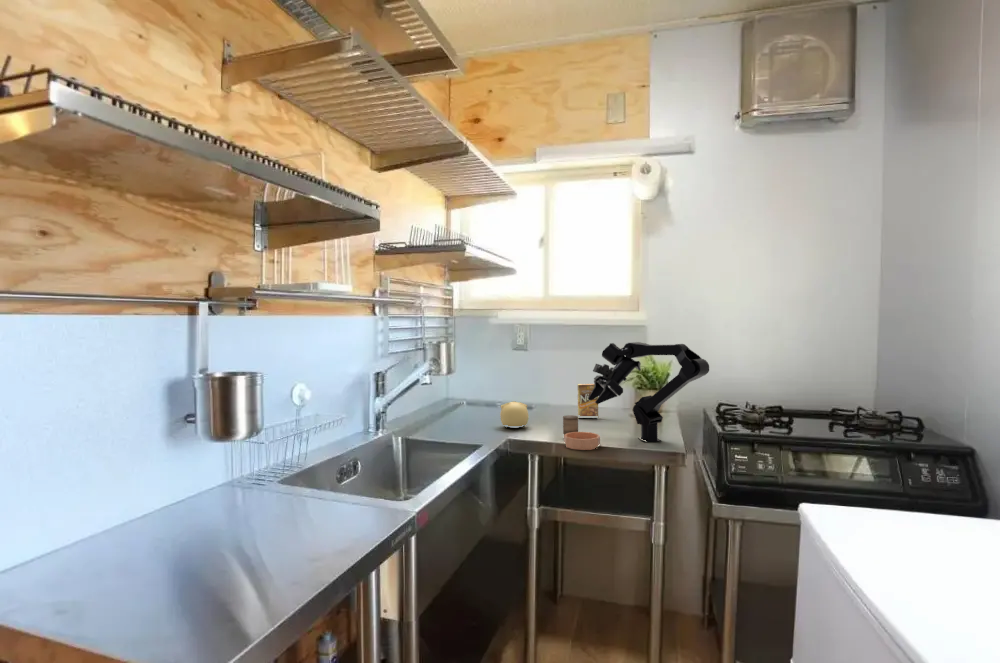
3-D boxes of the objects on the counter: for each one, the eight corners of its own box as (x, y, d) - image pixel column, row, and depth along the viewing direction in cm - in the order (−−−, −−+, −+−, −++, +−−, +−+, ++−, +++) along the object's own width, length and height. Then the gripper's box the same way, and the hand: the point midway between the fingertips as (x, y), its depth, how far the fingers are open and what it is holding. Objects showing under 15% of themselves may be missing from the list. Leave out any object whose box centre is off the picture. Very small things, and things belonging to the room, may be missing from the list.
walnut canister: (579, 439, 190) (579, 417, 190) (565, 440, 189) (565, 418, 189) (576, 436, 195) (575, 415, 195) (561, 436, 195) (561, 415, 195)
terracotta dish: (603, 449, 175) (603, 438, 175) (569, 450, 174) (569, 440, 174) (593, 441, 187) (593, 431, 187) (561, 442, 186) (561, 432, 186)
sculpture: (526, 424, 219) (526, 399, 219) (530, 430, 207) (530, 403, 207) (499, 425, 218) (499, 399, 218) (501, 431, 206) (501, 404, 206)
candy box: (578, 419, 229) (578, 384, 229) (577, 417, 233) (577, 383, 233) (598, 419, 229) (598, 384, 228) (597, 417, 233) (597, 383, 232)
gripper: (598, 354, 203) (571, 383, 202) (614, 357, 184) (584, 389, 183) (618, 374, 204) (591, 403, 203) (635, 379, 185) (606, 411, 184)
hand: (592, 401), depth 193 cm, fingers open, 9 cm apart
